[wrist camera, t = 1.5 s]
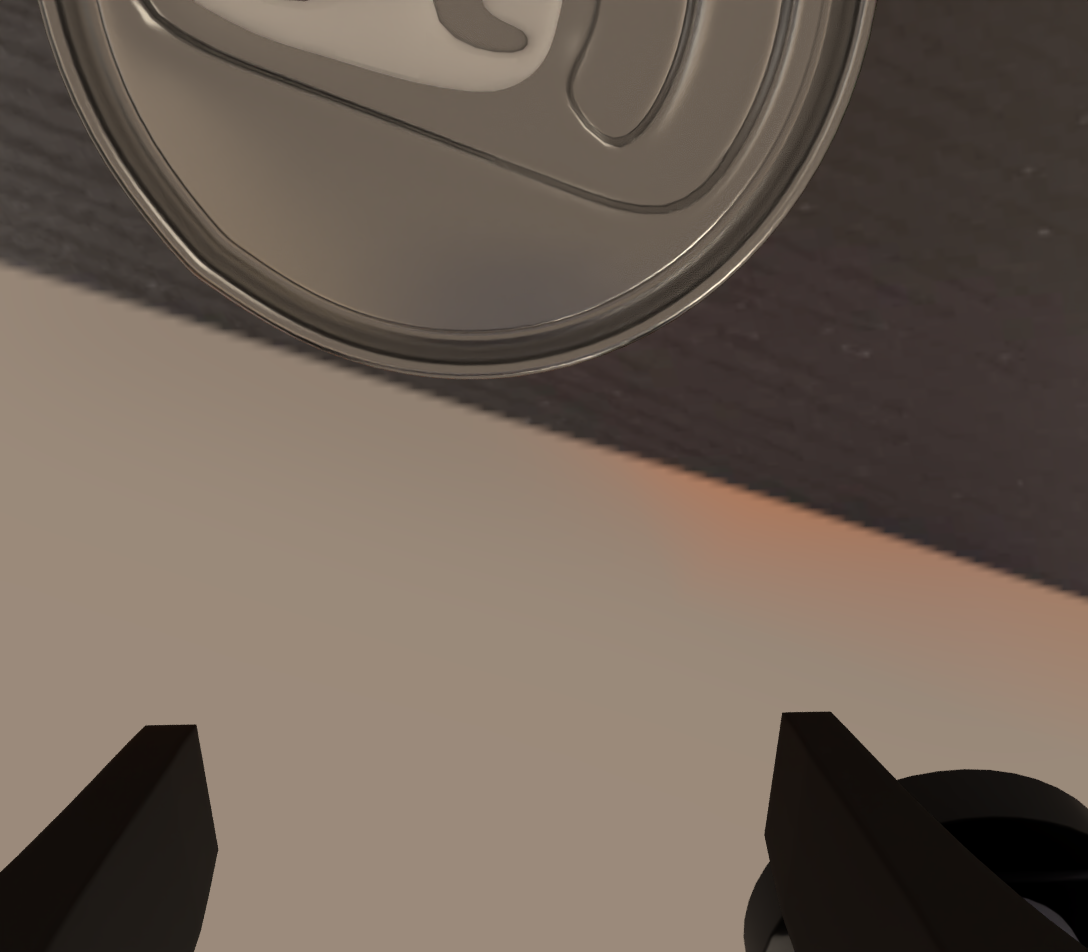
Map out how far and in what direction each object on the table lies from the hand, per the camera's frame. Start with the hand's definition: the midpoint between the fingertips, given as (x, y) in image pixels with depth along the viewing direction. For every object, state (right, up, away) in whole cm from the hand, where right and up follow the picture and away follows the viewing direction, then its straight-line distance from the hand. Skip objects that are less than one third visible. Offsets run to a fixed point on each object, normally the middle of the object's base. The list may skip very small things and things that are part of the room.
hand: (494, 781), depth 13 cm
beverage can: (0, +12, +4) cm, 13 cm away
